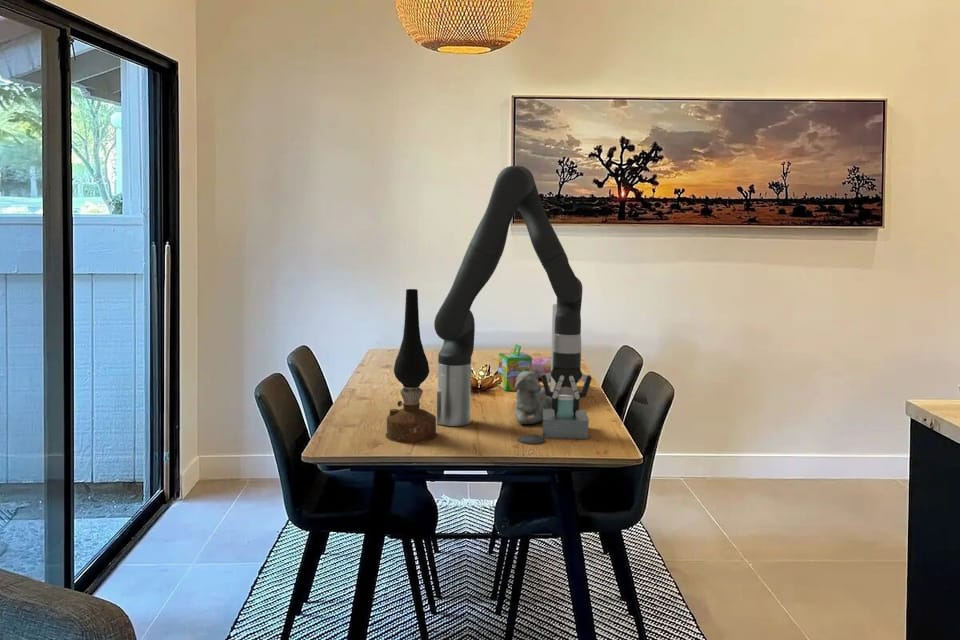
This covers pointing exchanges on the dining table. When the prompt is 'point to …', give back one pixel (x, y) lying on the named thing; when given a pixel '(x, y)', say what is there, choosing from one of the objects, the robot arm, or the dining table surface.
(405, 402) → the oil lamp
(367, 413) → the dining table surface
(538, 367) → the pencil case
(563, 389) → the grey piece
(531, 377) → the sculpture
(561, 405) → the teal canister
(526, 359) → the chalk box
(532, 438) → the coaster
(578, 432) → the housing
